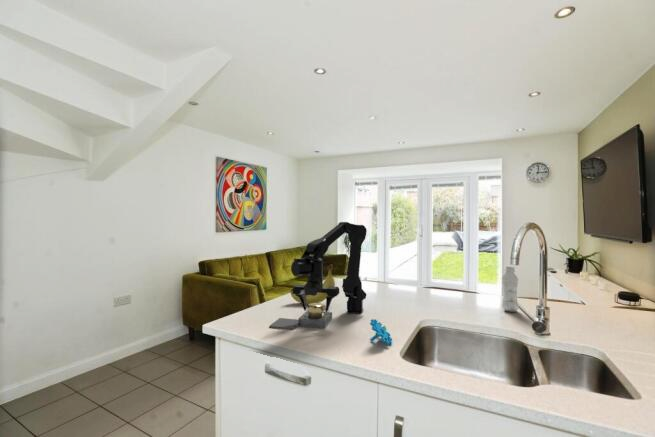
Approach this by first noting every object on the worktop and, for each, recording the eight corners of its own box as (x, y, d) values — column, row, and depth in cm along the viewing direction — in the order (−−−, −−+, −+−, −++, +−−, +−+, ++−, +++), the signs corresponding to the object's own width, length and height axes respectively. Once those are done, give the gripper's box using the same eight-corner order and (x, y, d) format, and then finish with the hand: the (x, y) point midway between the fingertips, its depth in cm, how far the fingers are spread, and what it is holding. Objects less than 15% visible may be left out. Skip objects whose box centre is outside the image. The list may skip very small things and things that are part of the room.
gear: (389, 345, 100) (369, 320, 104) (376, 356, 102) (357, 331, 105) (397, 338, 110) (378, 315, 114) (385, 348, 112) (367, 325, 115)
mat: (302, 321, 129) (302, 319, 129) (293, 329, 119) (293, 328, 119) (279, 319, 132) (279, 317, 132) (269, 327, 122) (269, 325, 122)
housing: (332, 319, 131) (332, 312, 131) (325, 328, 121) (325, 320, 121) (307, 317, 134) (307, 310, 134) (298, 325, 124) (298, 318, 123)
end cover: (325, 320, 130) (325, 303, 130) (321, 326, 123) (321, 307, 123) (310, 319, 131) (310, 302, 131) (305, 324, 125) (305, 306, 125)
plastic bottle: (503, 312, 140) (503, 268, 140) (501, 308, 146) (500, 265, 146) (519, 314, 137) (519, 268, 137) (516, 309, 144) (516, 266, 143)
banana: (288, 304, 154) (288, 264, 154) (292, 301, 160) (291, 262, 160) (334, 306, 150) (333, 265, 150) (335, 303, 156) (335, 263, 156)
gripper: (286, 275, 122) (287, 315, 122) (332, 278, 117) (333, 319, 117) (297, 270, 133) (297, 307, 133) (339, 272, 128) (339, 310, 128)
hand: (315, 311), depth 127 cm, fingers open, 9 cm apart
